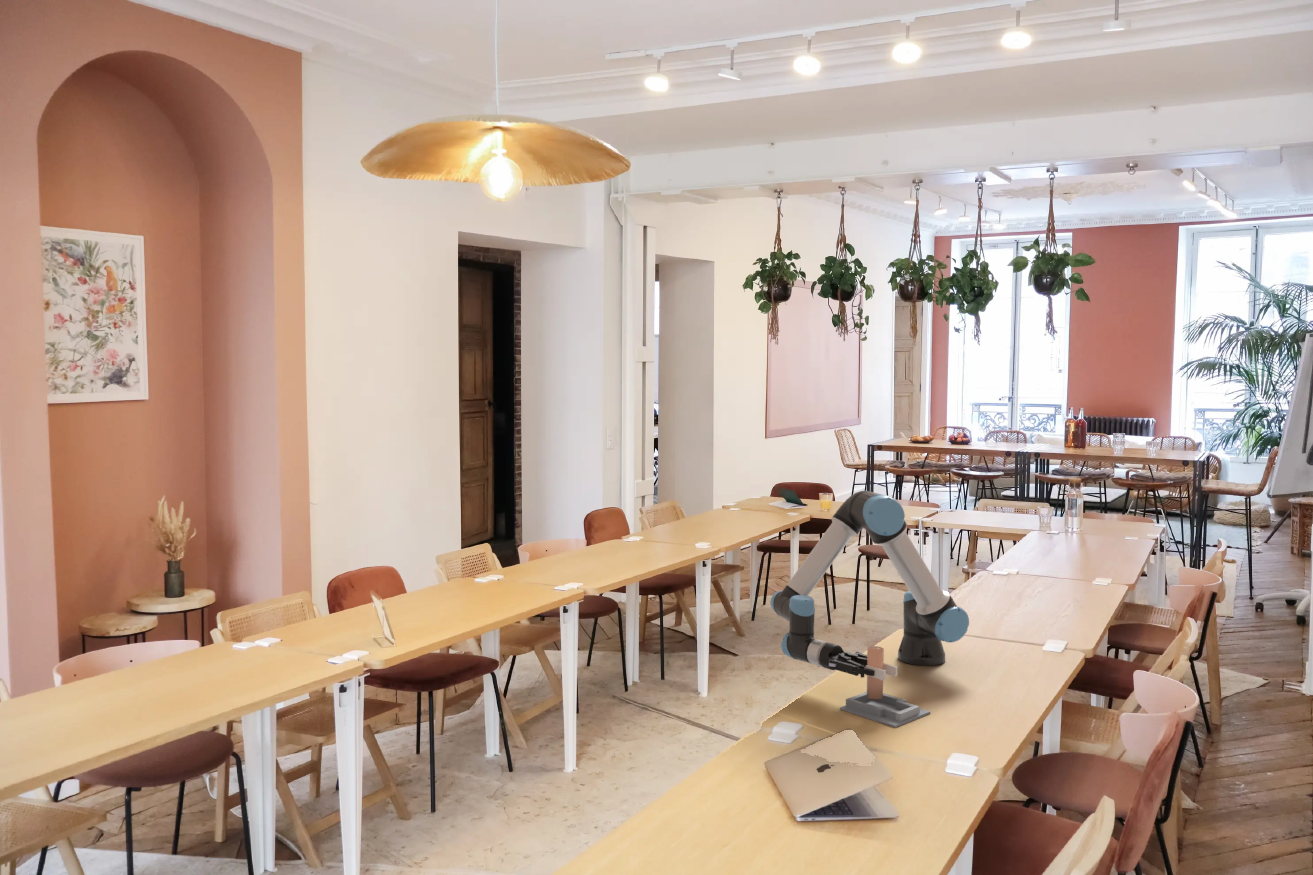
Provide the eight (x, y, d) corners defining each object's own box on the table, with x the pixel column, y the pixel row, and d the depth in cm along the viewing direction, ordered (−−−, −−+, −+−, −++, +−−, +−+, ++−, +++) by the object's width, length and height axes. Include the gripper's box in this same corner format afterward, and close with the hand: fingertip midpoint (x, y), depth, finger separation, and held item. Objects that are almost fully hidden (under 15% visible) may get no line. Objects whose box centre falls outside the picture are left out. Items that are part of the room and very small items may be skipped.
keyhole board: (875, 696, 288) (875, 687, 288) (930, 713, 274) (930, 704, 273) (840, 709, 278) (840, 700, 278) (895, 727, 263) (895, 718, 263)
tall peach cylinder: (873, 692, 281) (874, 645, 280) (886, 696, 277) (887, 648, 276) (863, 696, 278) (864, 648, 277) (876, 700, 275) (877, 651, 274)
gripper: (844, 661, 297) (909, 680, 279) (806, 673, 286) (871, 693, 268) (845, 637, 296) (910, 654, 278) (806, 647, 285) (871, 666, 267)
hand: (890, 673), depth 273 cm, fingers closed on tall peach cylinder, 4 cm apart
